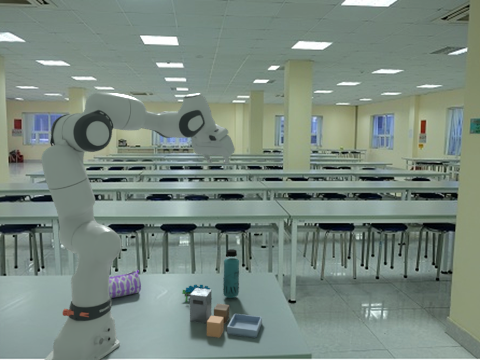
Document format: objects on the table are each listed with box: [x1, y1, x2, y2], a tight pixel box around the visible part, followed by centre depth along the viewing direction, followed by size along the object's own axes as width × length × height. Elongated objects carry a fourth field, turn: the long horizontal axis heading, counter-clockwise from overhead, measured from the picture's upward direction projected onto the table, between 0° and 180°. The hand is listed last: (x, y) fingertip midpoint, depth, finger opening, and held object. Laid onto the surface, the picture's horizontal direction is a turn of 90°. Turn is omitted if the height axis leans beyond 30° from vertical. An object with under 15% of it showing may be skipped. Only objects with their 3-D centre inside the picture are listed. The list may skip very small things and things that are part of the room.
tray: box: [226, 313, 263, 339], centre depth 136 cm, size 10×10×3 cm
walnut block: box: [213, 303, 230, 325], centre depth 142 cm, size 4×4×5 cm
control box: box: [189, 288, 212, 325], centre depth 142 cm, size 7×6×10 cm
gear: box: [182, 284, 211, 303], centre depth 157 cm, size 11×6×10 cm
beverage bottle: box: [222, 248, 240, 299], centre depth 159 cm, size 6×7×20 cm
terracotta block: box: [206, 315, 225, 338], centre depth 132 cm, size 4×4×5 cm
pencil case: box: [109, 269, 142, 299], centre depth 160 cm, size 22×9×10 cm, turn 124°
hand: (218, 163), depth 160 cm, fingers open, 8 cm apart
